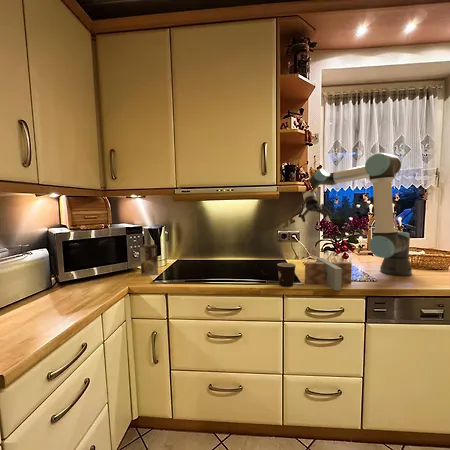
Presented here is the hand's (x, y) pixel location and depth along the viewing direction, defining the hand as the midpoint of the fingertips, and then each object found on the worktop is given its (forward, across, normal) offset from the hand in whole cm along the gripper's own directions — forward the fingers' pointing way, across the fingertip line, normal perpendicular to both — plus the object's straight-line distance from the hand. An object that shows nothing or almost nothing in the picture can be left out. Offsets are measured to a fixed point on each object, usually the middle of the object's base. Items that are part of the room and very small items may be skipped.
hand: (318, 225), depth 169 cm
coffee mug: (+39, +26, +3) cm, 47 cm away
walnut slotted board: (+38, +5, +2) cm, 39 cm away
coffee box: (+22, +98, -14) cm, 101 cm away
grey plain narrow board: (+38, +5, +2) cm, 39 cm away
